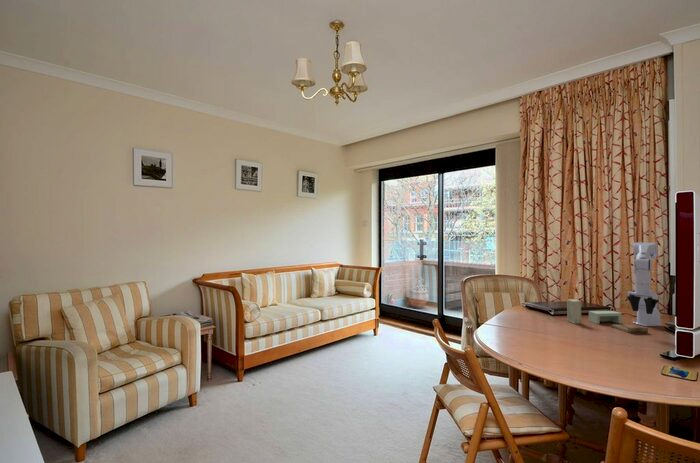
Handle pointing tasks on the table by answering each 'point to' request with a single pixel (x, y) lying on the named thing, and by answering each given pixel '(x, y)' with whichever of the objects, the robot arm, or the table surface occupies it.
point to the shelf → (604, 316)
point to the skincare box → (574, 311)
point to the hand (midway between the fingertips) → (642, 312)
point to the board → (630, 328)
